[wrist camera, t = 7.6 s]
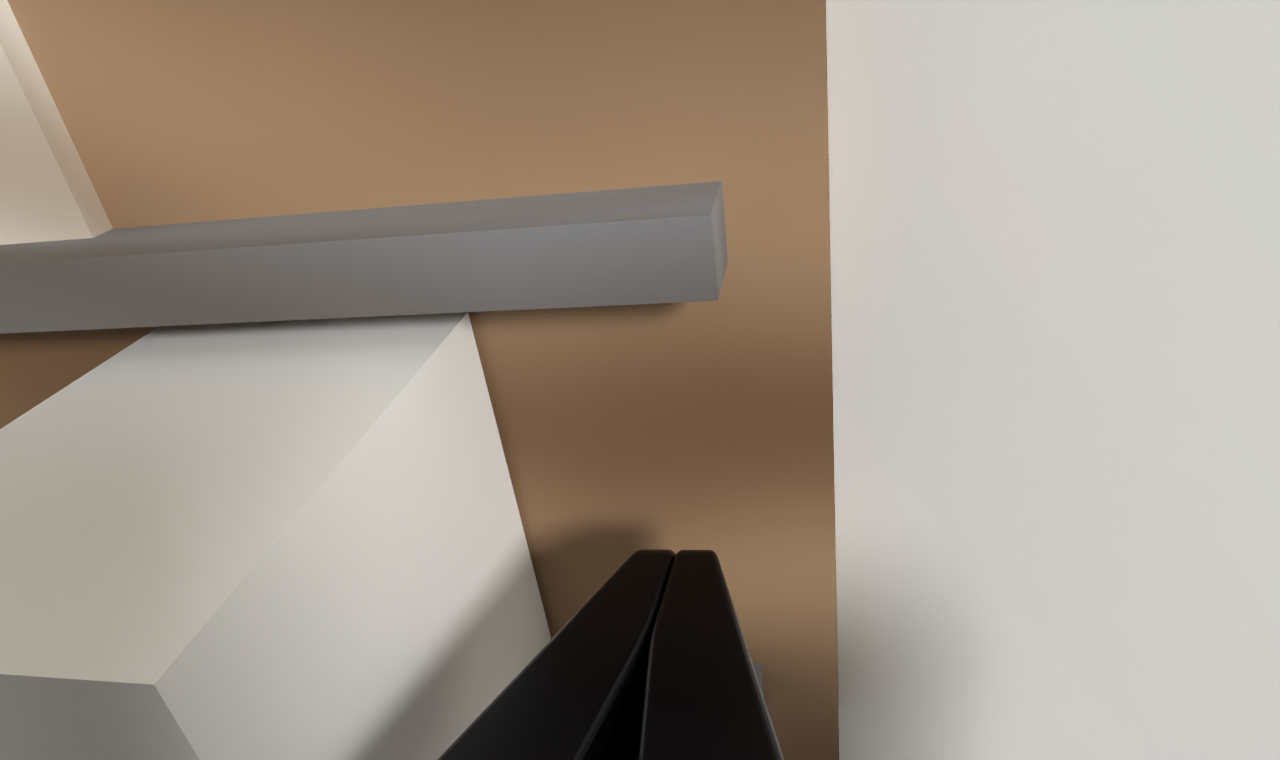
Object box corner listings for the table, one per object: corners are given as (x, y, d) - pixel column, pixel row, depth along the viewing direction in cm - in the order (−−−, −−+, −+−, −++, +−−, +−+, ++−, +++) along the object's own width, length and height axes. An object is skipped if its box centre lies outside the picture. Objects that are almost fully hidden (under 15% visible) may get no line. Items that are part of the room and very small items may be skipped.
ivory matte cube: (551, 637, 11) (394, 1079, 7) (184, 619, 13) (-134, 983, 8) (467, 311, 9) (154, 685, 5) (25, 333, 10) (-536, 637, 6)
